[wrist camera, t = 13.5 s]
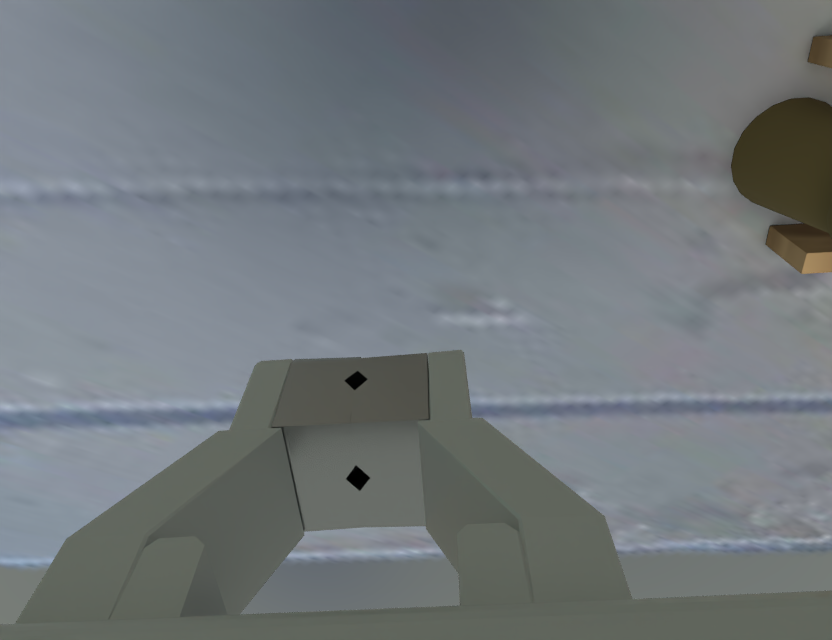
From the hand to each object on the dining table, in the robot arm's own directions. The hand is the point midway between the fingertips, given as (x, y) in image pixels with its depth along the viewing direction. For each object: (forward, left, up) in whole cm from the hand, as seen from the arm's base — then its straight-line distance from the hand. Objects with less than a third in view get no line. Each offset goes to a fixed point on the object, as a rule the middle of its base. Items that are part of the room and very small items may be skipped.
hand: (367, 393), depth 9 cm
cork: (-12, +18, -27) cm, 35 cm away
